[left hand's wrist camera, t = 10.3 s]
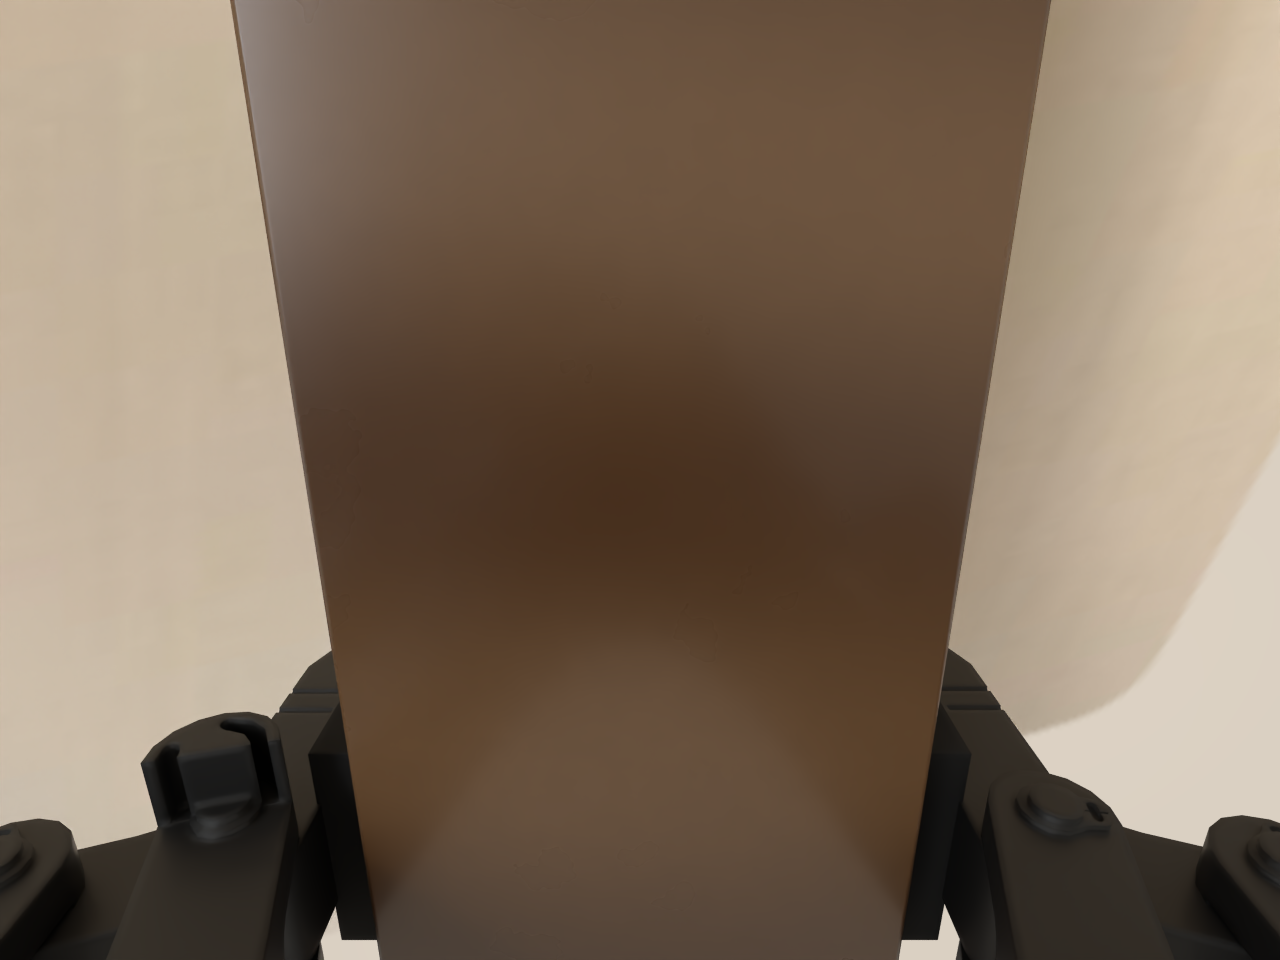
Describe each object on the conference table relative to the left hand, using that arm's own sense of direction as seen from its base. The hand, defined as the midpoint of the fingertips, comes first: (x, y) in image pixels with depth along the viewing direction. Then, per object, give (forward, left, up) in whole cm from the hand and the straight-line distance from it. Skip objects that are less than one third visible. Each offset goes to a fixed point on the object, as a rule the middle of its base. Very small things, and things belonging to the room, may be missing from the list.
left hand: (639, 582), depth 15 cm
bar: (+18, +20, -1) cm, 27 cm away
